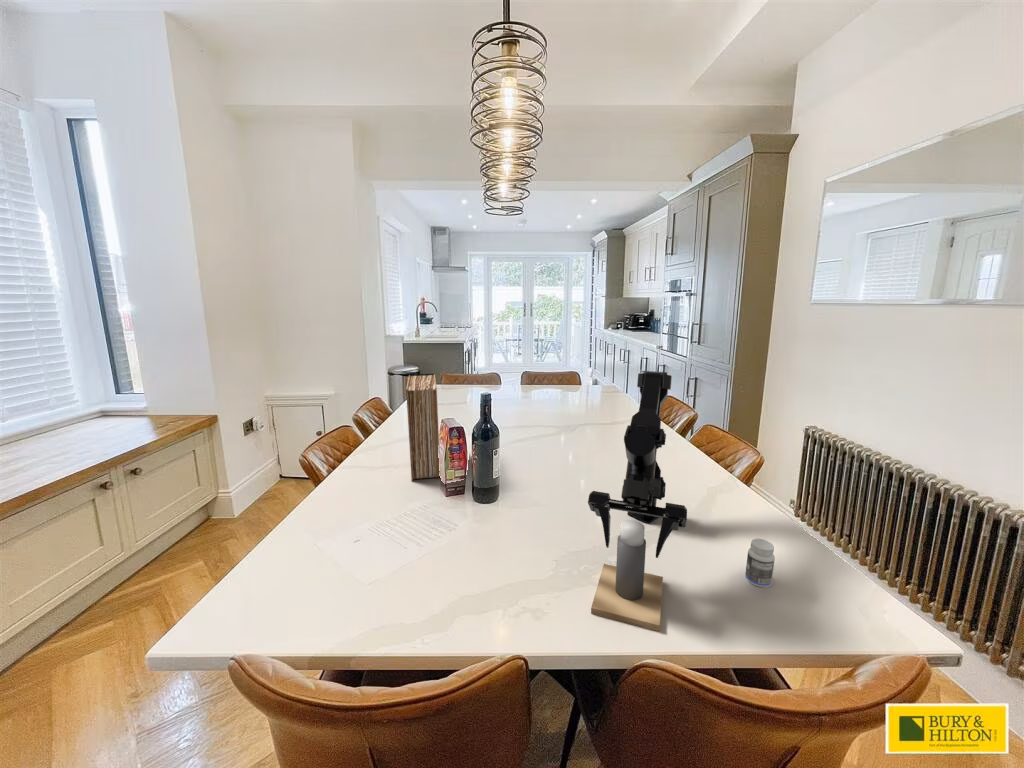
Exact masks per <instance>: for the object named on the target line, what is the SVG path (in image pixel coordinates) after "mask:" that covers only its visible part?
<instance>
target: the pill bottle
mask: <svg viewBox="0 0 1024 768" xmlns="http://www.w3.org/2000/svg"><path fill="white" fill-rule="evenodd" d="M774 551H775V545H774V544H773V543H771V541H768V540H766V539H763V538H753V539H752V540H751V542H750V547H749V548H748V551H747V558H746V566H745V573H744V574H745V575H744V576H745V580H746V581H748V583H750V584H751V585H753V586H756V587H759V588H768V587H770V586H771V585H772V580H773V574H774V568H775V560H776V559H775V555H774Z"/></svg>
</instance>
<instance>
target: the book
mask: <svg viewBox="0 0 1024 768" xmlns="http://www.w3.org/2000/svg"><path fill="white" fill-rule="evenodd" d="M437 389H438V387H437V380H436V374H435V373H419V374H408V378H407V381H406V388H405V390H406V408H407V409H406V410H407V423H408V424H407V427H408V440H409V443H408V445H409V457H410V458H409V459H410V477H411V482H414V480H417V479H428V478H430V479H431V478H439V458H438V445H439V446H440V435H439V432H440V431H439V412H438V411H439V409H438V390H437Z"/></svg>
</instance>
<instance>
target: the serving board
mask: <svg viewBox="0 0 1024 768" xmlns="http://www.w3.org/2000/svg"><path fill="white" fill-rule="evenodd" d="M663 579H664V576H660V575H657V574H652V573H647V572H644V585H643V596H642V597H641V598H640V599H638V600H634V601H631V600H626V599H623V598H621V597H620V596H619V595H618V594H617V593H616V590H615V586H616V566H615V565H612V564H606V563H604V564H603V565H602V568H601V572H600V576H599V579H598V583H597V586H596V589H595V593H594V595H593V596H594V597H593V600H592V603H591V604H592V605H591V606H590V607H591V608H590V614H592V615H596V616H600V617H602V618H607V619H611V620H614V621H618V622H623V623H626V624H629V625H633V626H638V627H640V628H645V629H649V630H651V631H655V632H660V626H661V611H662V609H661V608H662V599H663V598H662V597H663V585H664V584H663V583H664V582H663V581H664V580H663Z"/></svg>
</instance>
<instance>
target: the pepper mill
mask: <svg viewBox="0 0 1024 768" xmlns="http://www.w3.org/2000/svg"><path fill="white" fill-rule="evenodd" d="M645 529H646V528H645V525H644V524H643V523H642V522H640V521H638V520H635V519H625V520H623V521H621V522H620V527H619V535H618V536H617V543H616V545H617V546H616V563H615V565H616V586H615V590H616V593H617V594H618V595H619V596H620V597H621V598H623V599H626V600H631V601H634V600H638V599H640V598H641V597H642V596H643V585H644V573H645V566H646V553H647V552H646V549H647V548H646V547H647V541H646V539H645Z"/></svg>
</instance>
